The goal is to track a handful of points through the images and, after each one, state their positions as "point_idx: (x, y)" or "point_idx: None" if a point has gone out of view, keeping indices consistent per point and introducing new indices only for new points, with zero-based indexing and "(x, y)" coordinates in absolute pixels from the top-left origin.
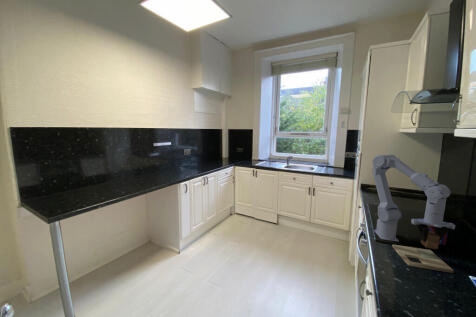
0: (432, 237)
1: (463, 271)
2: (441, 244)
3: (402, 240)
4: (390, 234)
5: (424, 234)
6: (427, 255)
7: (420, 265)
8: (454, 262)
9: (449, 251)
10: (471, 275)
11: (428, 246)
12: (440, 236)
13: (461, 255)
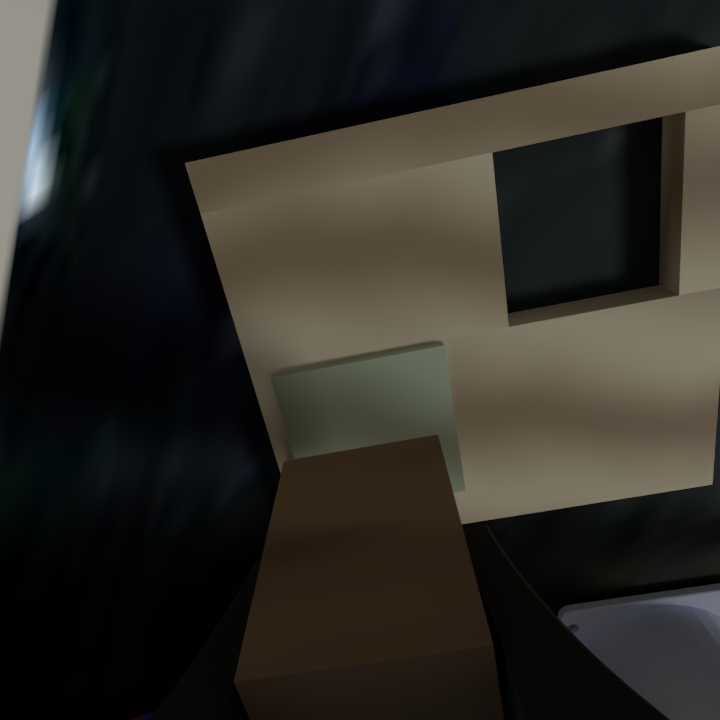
0: (386, 610)
1: (77, 272)
2: (151, 716)
3: None
4: (693, 665)
5: (574, 638)
6: (387, 394)
7: (576, 79)
8: (120, 432)
9: (113, 628)
10: (16, 219)
11: (414, 454)
12: (215, 691)
13: (27, 602)
